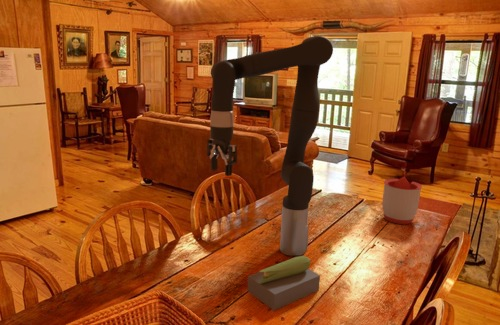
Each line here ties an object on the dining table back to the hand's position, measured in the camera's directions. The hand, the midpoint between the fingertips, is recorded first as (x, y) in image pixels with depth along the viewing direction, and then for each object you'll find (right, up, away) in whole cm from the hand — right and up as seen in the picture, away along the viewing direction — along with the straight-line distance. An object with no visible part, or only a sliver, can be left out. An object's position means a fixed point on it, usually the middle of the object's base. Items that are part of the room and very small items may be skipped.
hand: (221, 172), depth 135 cm
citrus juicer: (+77, -22, +47) cm, 93 cm away
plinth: (+20, -35, -14) cm, 43 cm away
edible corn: (+19, -31, -15) cm, 39 cm away
